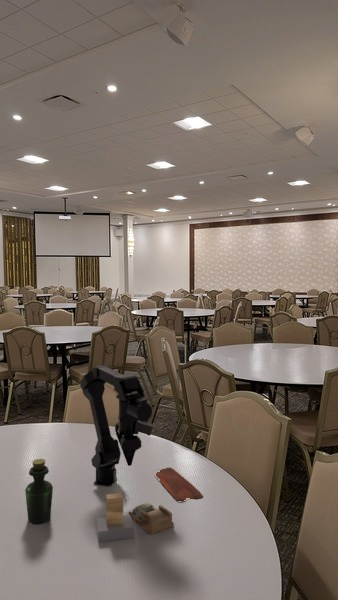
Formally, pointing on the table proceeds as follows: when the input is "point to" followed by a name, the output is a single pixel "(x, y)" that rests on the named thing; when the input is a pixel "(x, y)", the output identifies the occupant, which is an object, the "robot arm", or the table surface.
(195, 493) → the wooden tablet
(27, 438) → the table surface
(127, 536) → the plinth
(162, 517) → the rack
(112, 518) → the oak block
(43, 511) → the potion bottle
